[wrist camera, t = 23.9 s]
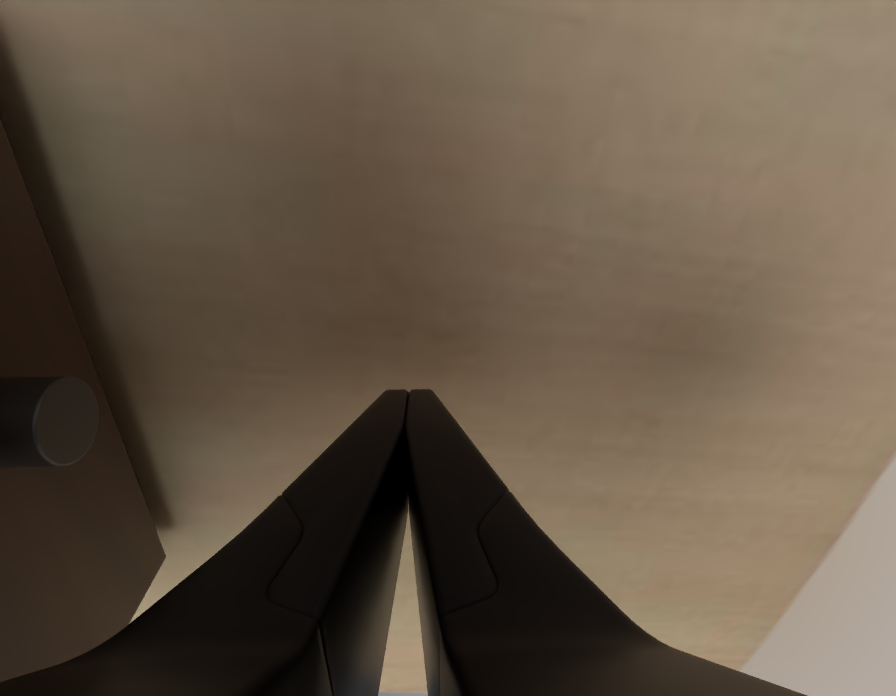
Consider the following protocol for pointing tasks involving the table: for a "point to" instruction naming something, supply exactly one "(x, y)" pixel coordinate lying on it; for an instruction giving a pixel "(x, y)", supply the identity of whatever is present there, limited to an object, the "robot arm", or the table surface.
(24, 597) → the drawer
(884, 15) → the table surface
